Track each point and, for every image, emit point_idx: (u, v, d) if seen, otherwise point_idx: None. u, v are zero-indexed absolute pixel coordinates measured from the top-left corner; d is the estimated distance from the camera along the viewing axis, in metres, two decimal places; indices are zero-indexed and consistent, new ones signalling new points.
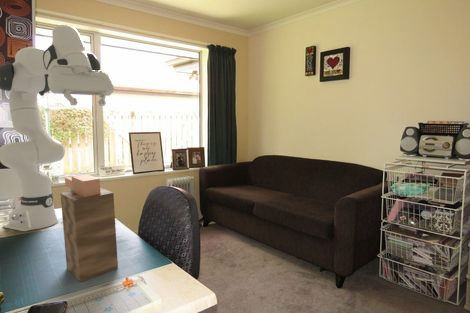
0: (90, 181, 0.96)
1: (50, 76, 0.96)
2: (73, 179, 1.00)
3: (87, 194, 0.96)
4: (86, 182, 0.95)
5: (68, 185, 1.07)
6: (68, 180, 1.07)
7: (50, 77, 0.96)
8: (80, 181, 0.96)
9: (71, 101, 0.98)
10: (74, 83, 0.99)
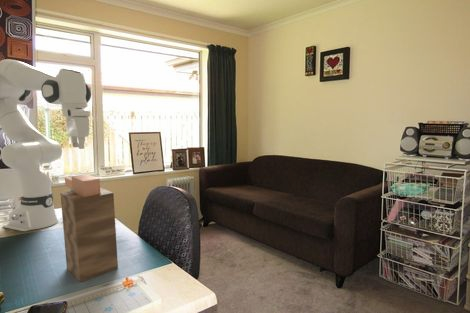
0: (90, 181, 0.96)
1: (85, 124, 1.12)
2: (73, 179, 1.00)
3: (87, 194, 0.96)
4: (86, 182, 0.95)
5: (68, 185, 1.07)
6: (68, 180, 1.07)
7: (84, 124, 1.12)
8: (80, 181, 0.96)
9: (82, 146, 1.16)
10: None
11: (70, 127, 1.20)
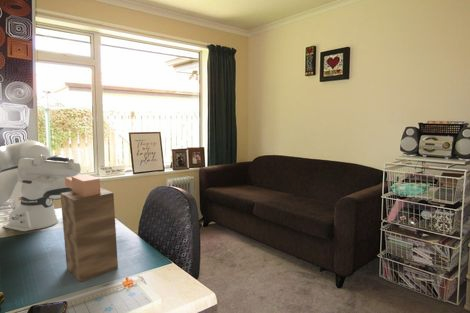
0: (90, 181, 0.96)
1: (18, 165, 1.09)
2: (73, 179, 1.00)
3: (87, 194, 0.96)
4: (86, 182, 0.95)
5: (68, 185, 1.07)
6: (68, 180, 1.07)
7: (18, 166, 1.09)
8: (80, 181, 0.96)
9: (40, 157, 1.07)
10: None
11: (55, 173, 1.16)
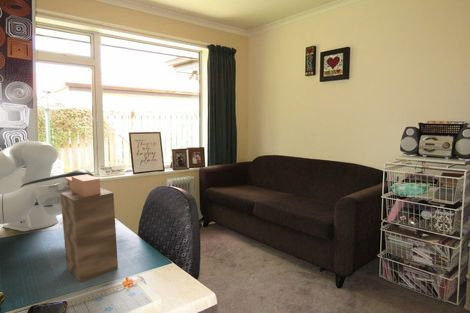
0: (90, 181, 0.96)
1: None
2: (73, 179, 1.00)
3: (87, 194, 0.96)
4: (86, 182, 0.95)
5: None
6: (68, 180, 1.07)
7: (35, 193, 1.07)
8: (80, 181, 0.96)
9: (63, 183, 1.06)
10: None
11: None
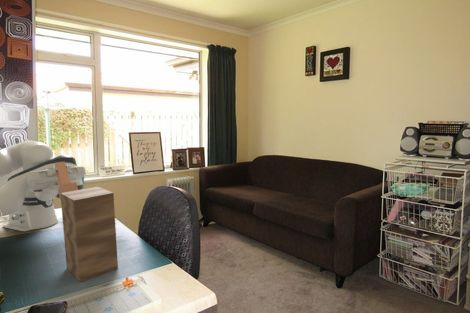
0: None
1: (26, 178, 1.15)
2: (62, 189, 1.11)
3: None
4: None
5: (56, 173, 1.16)
6: (58, 171, 1.15)
7: (26, 178, 1.15)
8: None
9: (52, 169, 1.14)
10: None
11: None
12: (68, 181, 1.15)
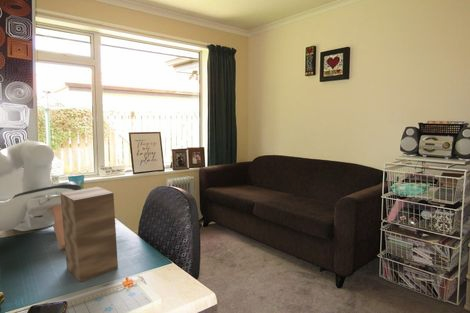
0: None
1: None
2: (56, 225, 1.18)
3: (63, 248, 1.18)
4: None
5: (51, 209, 1.23)
6: (52, 208, 1.22)
7: None
8: (61, 239, 1.16)
9: (44, 197, 1.15)
10: None
11: None
12: (62, 217, 1.22)
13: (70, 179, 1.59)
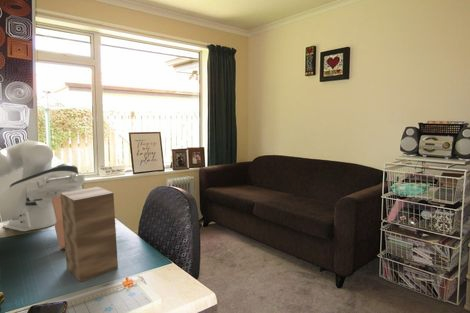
0: None
1: (26, 188, 1.17)
2: (57, 225, 1.17)
3: (63, 248, 1.18)
4: None
5: (53, 207, 1.22)
6: (54, 206, 1.21)
7: (26, 188, 1.16)
8: (61, 241, 1.15)
9: (43, 180, 1.14)
10: None
11: (61, 188, 1.23)
12: None
13: None
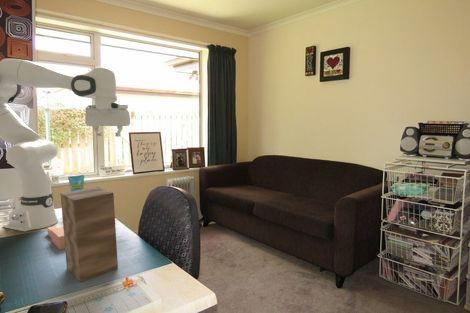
0: None
1: (128, 115, 1.36)
2: (52, 232, 1.23)
3: (62, 247, 1.19)
4: (61, 237, 1.18)
5: (49, 234, 1.30)
6: (49, 230, 1.30)
7: (128, 115, 1.36)
8: (57, 236, 1.19)
9: (119, 134, 1.38)
10: None
11: (101, 118, 1.36)
12: None
13: (70, 179, 1.59)
